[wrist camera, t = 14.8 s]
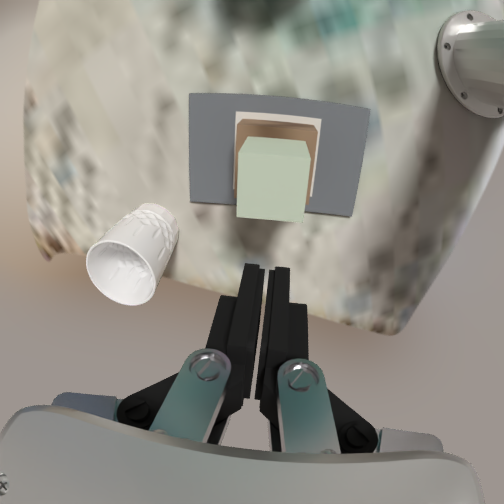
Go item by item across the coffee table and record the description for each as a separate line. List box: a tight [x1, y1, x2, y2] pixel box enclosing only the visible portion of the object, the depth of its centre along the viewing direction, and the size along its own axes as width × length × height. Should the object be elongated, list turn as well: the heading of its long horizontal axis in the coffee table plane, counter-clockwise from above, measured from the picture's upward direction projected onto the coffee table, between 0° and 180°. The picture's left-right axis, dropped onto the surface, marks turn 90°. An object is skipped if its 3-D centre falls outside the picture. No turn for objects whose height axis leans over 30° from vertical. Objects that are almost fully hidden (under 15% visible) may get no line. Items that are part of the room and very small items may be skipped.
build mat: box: [189, 93, 370, 216], centre depth 31 cm, size 18×12×1 cm, turn 87°
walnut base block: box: [234, 119, 318, 205], centre depth 29 cm, size 7×7×4 cm
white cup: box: [86, 203, 179, 306], centre depth 33 cm, size 8×8×10 cm
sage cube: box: [237, 136, 311, 223], centre depth 25 cm, size 5×5×6 cm
